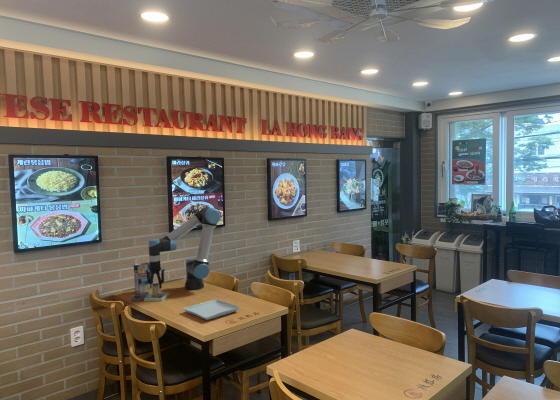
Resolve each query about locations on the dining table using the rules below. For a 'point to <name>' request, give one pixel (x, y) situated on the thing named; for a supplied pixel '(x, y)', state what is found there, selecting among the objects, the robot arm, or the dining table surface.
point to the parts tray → (156, 298)
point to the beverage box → (141, 276)
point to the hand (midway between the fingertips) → (156, 292)
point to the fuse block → (139, 297)
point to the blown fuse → (155, 290)
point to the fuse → (142, 289)
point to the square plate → (211, 309)
